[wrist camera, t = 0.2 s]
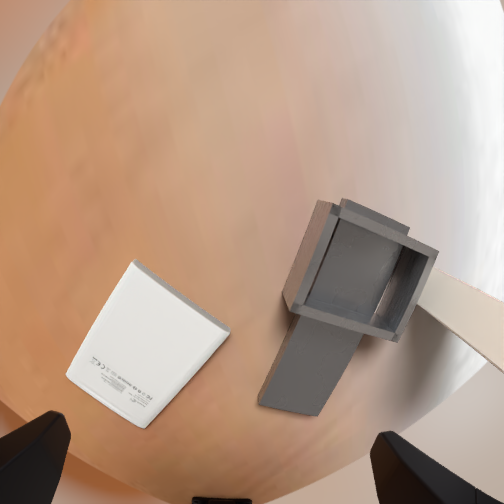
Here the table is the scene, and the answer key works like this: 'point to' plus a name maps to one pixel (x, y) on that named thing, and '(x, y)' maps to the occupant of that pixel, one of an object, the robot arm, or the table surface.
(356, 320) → the grey tray with tab
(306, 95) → the table surface
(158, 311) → the external hard drive
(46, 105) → the table surface
